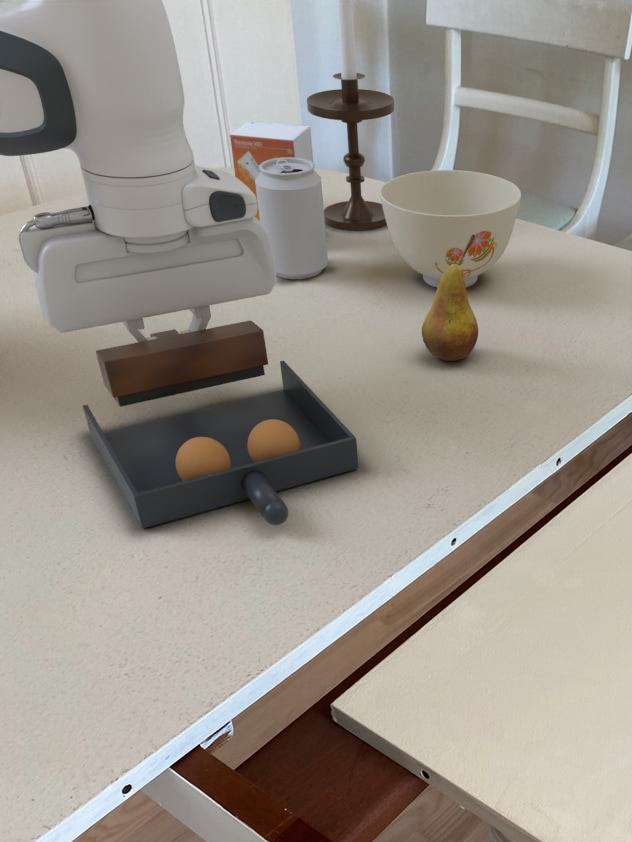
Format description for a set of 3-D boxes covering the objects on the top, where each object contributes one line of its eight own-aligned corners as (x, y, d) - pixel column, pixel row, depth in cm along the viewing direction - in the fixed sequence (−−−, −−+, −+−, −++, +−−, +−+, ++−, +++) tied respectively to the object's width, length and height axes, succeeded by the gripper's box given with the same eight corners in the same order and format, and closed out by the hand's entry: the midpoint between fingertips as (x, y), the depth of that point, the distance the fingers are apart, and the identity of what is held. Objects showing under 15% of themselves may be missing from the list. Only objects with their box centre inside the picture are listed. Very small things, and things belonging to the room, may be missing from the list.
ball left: (156, 459, 78) (174, 475, 82) (196, 493, 78) (213, 507, 82) (193, 418, 78) (209, 436, 83) (233, 452, 78) (247, 468, 82)
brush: (116, 409, 84) (104, 361, 81) (94, 378, 89) (82, 333, 87) (270, 375, 89) (263, 329, 87) (240, 347, 95) (232, 304, 92)
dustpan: (91, 437, 87) (82, 405, 85) (287, 390, 95) (283, 360, 93) (165, 571, 73) (157, 537, 71) (389, 504, 81) (387, 471, 78)
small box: (243, 246, 123) (227, 133, 114) (261, 228, 127) (247, 119, 119) (304, 252, 122) (293, 139, 113) (320, 234, 126) (311, 124, 118)
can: (284, 286, 114) (271, 178, 106) (255, 266, 118) (241, 160, 110) (340, 273, 117) (332, 166, 109) (310, 253, 121) (300, 150, 113)
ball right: (241, 418, 80) (235, 444, 84) (265, 463, 79) (258, 487, 83) (289, 403, 82) (281, 429, 86) (313, 447, 81) (304, 471, 85)
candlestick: (372, 200, 137) (357, -114, 113) (412, 223, 130) (405, -104, 107) (303, 213, 132) (272, -111, 109) (341, 238, 125) (316, -101, 102)
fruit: (426, 343, 103) (424, 227, 95) (480, 347, 103) (483, 230, 95) (418, 367, 99) (415, 247, 91) (474, 371, 99) (476, 251, 91)
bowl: (380, 306, 110) (376, 214, 103) (385, 253, 122) (382, 168, 115) (521, 307, 111) (525, 216, 104) (512, 255, 123) (516, 170, 116)
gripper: (20, 230, 74) (66, 395, 83) (274, 193, 82) (290, 347, 91) (4, 204, 78) (49, 365, 87) (247, 172, 86) (265, 321, 95)
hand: (174, 355), depth 89 cm, fingers closed on brush, 2 cm apart
